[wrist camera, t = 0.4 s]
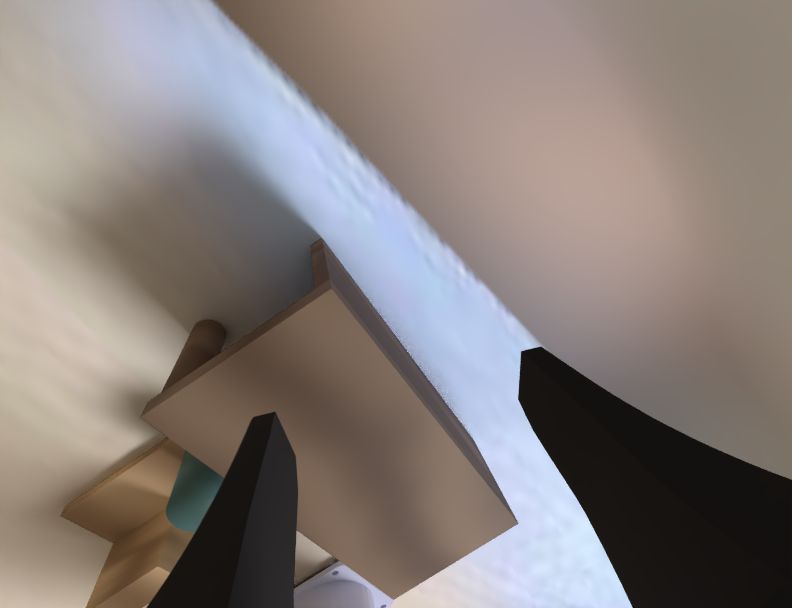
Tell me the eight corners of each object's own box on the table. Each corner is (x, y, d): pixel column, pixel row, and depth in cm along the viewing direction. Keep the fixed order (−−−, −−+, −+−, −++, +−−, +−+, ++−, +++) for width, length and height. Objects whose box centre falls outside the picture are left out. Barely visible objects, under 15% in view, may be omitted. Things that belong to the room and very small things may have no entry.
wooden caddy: (374, 502, 29) (393, 599, 23) (185, 331, 20) (139, 417, 14) (473, 440, 28) (518, 523, 22) (322, 237, 20) (331, 288, 14)
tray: (185, 563, 28) (163, 648, 23) (69, 500, 24) (15, 589, 19) (325, 471, 27) (330, 541, 23) (231, 390, 23) (215, 456, 18)
